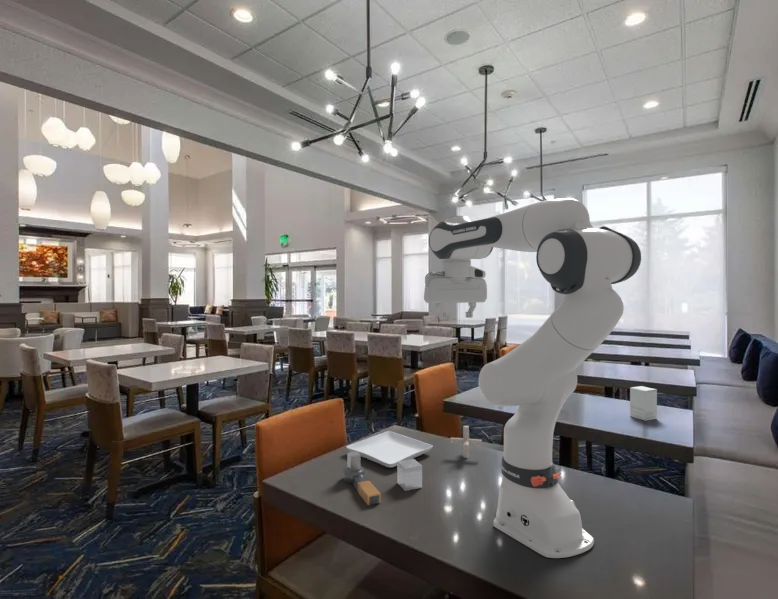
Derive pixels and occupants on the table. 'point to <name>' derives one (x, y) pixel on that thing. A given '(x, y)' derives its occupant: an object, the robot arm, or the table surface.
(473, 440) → the pipe connector
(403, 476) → the white speckled cube
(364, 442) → the salad plate
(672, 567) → the table surface
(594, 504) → the table surface
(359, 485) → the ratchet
